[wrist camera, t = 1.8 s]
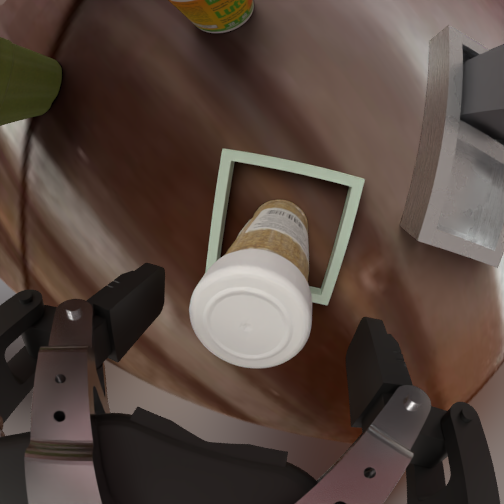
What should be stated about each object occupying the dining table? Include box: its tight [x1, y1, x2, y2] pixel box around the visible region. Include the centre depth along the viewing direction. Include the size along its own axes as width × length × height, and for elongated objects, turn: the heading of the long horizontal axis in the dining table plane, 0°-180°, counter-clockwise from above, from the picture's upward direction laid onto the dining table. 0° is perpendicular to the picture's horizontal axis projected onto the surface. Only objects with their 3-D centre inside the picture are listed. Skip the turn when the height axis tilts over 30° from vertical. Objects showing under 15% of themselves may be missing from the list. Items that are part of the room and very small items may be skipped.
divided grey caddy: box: [400, 25, 504, 268], centre depth 14 cm, size 9×17×4 cm, turn 170°
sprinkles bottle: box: [189, 200, 312, 368], centre depth 16 cm, size 5×5×14 cm
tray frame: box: [206, 149, 365, 305], centre depth 21 cm, size 11×11×1 cm
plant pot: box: [0, 37, 62, 126], centre depth 15 cm, size 12×12×11 cm
